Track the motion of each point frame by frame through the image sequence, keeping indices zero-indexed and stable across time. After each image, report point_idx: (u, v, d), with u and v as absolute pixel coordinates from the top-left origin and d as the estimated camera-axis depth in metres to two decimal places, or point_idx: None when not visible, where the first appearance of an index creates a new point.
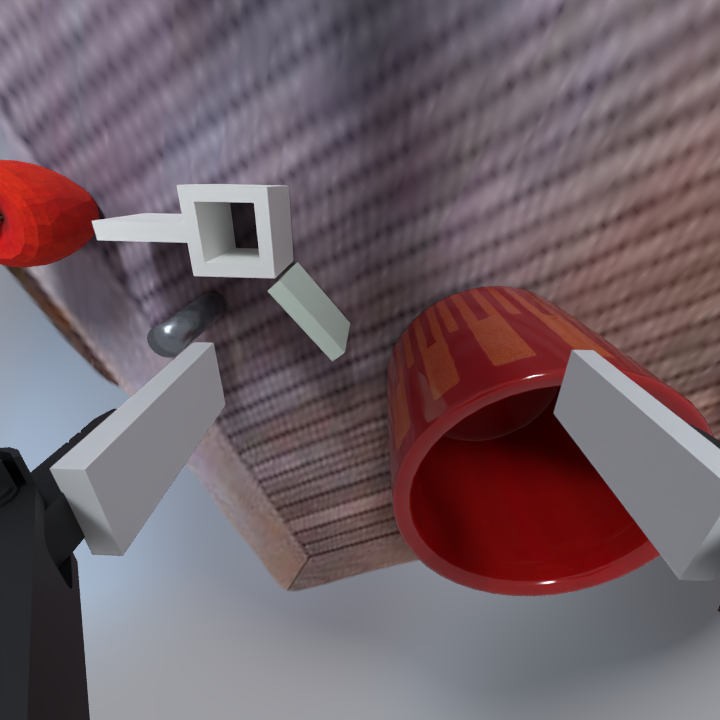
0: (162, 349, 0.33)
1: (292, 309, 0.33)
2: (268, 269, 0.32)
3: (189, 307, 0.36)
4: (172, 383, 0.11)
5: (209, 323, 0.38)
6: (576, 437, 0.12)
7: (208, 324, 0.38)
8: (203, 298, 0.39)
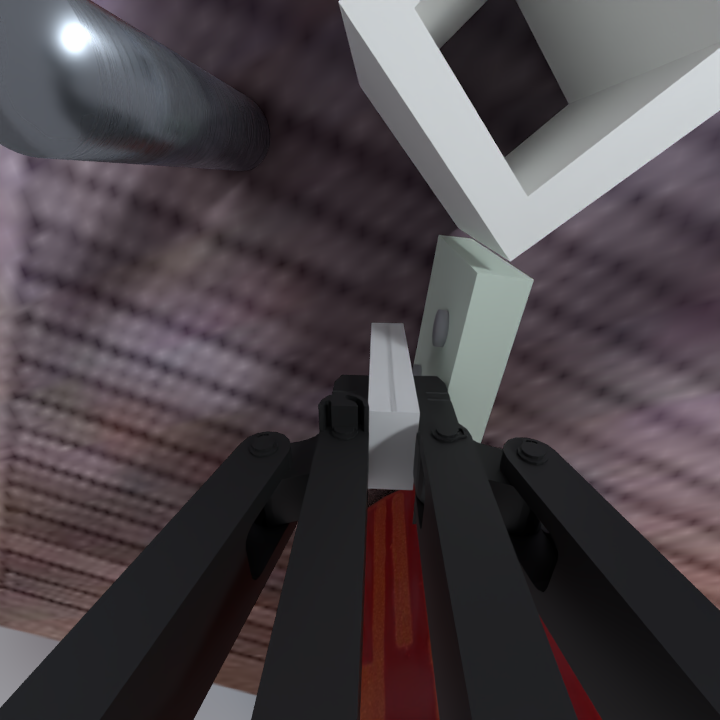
0: None
1: (475, 359, 0.11)
2: (526, 228, 0.10)
3: (201, 74, 0.11)
4: (391, 353, 0.12)
5: (207, 164, 0.13)
6: None
7: (204, 164, 0.12)
8: (240, 97, 0.14)
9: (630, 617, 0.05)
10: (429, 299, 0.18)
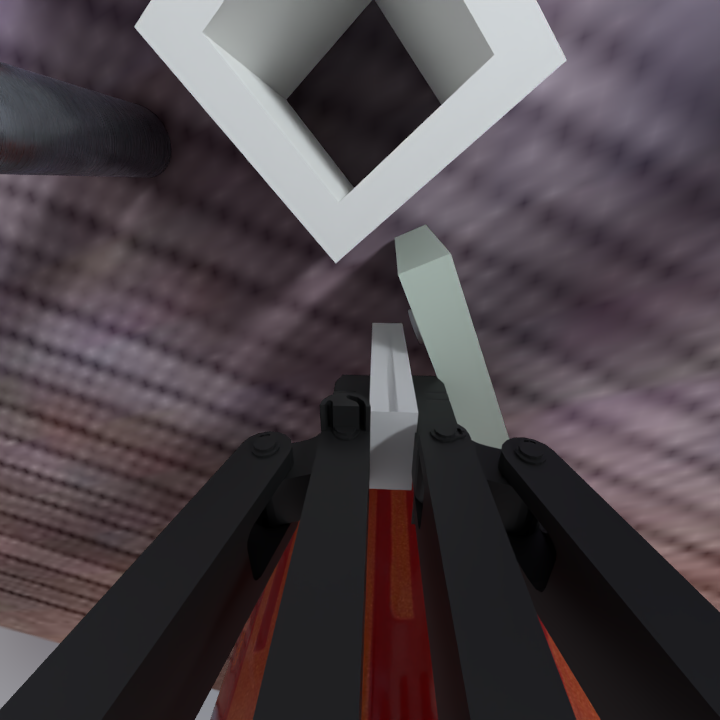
0: None
1: (444, 344, 0.12)
2: (343, 232, 0.11)
3: (57, 90, 0.12)
4: (392, 353, 0.12)
5: (83, 172, 0.13)
6: None
7: (77, 172, 0.13)
8: (123, 109, 0.14)
9: (628, 617, 0.05)
10: None
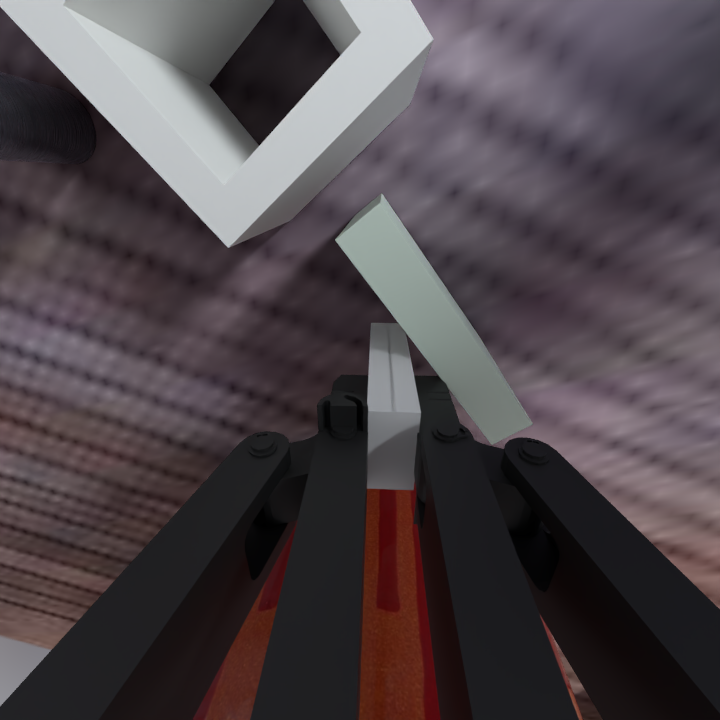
0: None
1: (405, 300, 0.11)
2: (232, 216, 0.10)
3: None
4: (390, 353, 0.12)
5: None
6: None
7: None
8: (33, 92, 0.14)
9: (631, 616, 0.05)
10: None
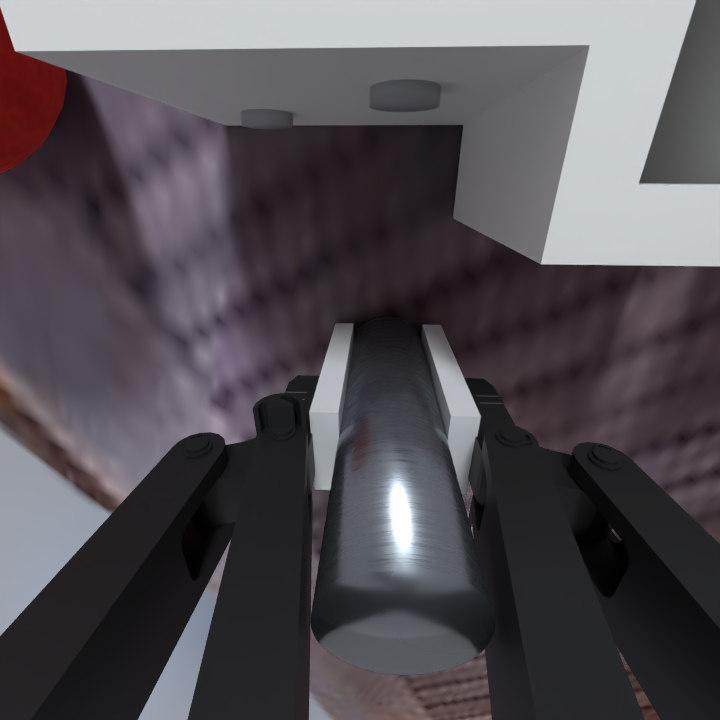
0: (379, 650, 0.06)
1: None
2: None
3: (394, 384, 0.10)
4: (348, 353, 0.12)
5: None
6: None
7: None
8: (393, 339, 0.13)
9: (710, 627, 0.05)
10: None
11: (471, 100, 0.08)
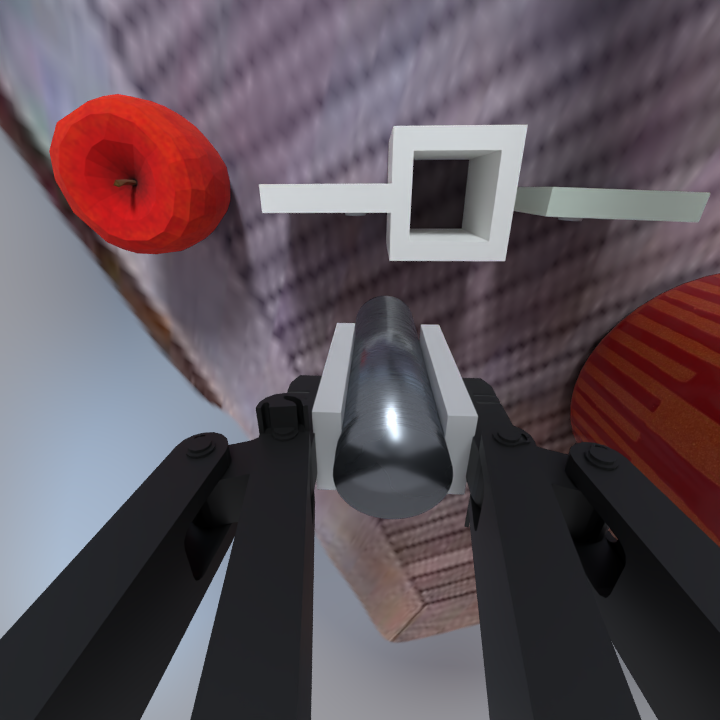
0: (377, 497, 0.09)
1: (593, 207, 0.21)
2: (499, 248, 0.23)
3: (389, 339, 0.13)
4: (349, 353, 0.12)
5: None
6: None
7: None
8: (389, 311, 0.16)
9: (705, 627, 0.05)
10: None
11: None
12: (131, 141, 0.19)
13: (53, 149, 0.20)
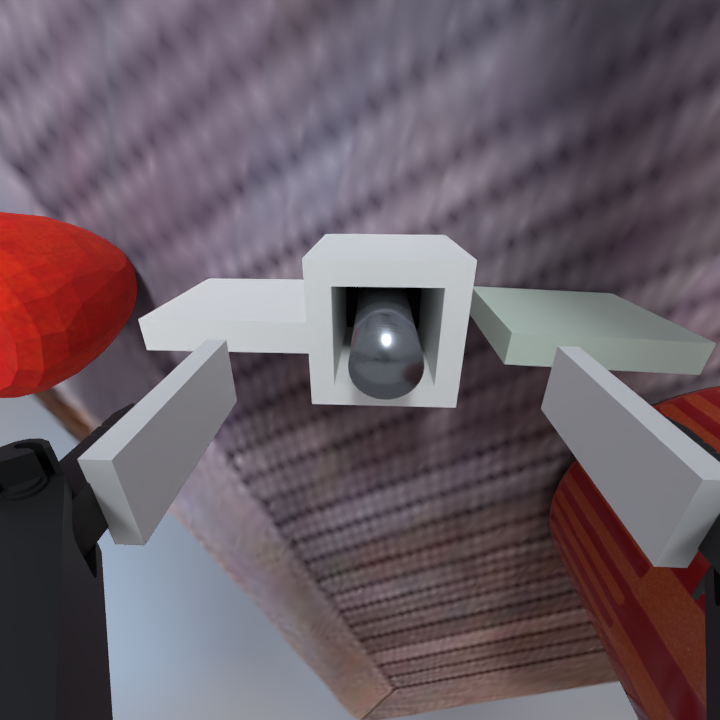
0: (376, 383, 0.15)
1: None
2: (447, 394, 0.18)
3: (385, 292, 0.18)
4: (189, 378, 0.11)
5: None
6: (561, 431, 0.13)
7: None
8: None
9: None
10: None
11: None
12: None
13: None
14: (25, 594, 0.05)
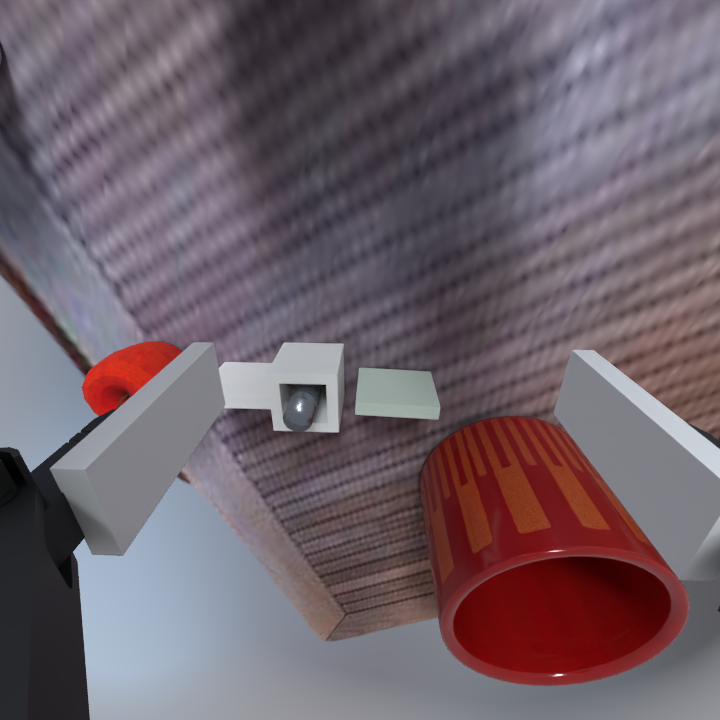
0: (294, 425, 0.37)
1: (380, 411, 0.39)
2: (334, 426, 0.40)
3: None
4: (172, 383, 0.11)
5: (320, 392, 0.42)
6: (576, 437, 0.12)
7: None
8: None
9: None
10: None
11: None
12: (125, 385, 0.37)
13: (84, 388, 0.37)
14: None
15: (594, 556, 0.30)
